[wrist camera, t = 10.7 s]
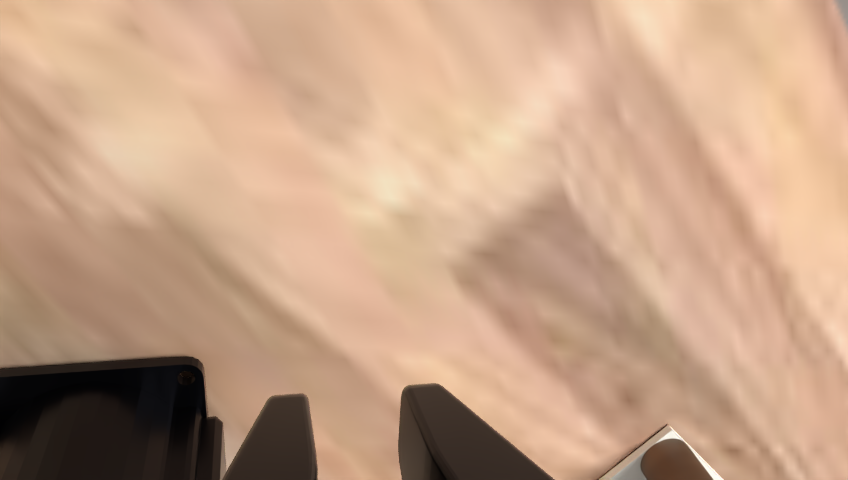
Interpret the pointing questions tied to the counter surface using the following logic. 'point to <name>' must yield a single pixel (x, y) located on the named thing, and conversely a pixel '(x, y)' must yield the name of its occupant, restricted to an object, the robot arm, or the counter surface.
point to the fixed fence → (672, 462)
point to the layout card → (628, 472)
